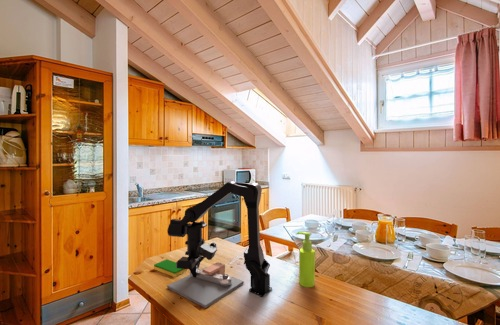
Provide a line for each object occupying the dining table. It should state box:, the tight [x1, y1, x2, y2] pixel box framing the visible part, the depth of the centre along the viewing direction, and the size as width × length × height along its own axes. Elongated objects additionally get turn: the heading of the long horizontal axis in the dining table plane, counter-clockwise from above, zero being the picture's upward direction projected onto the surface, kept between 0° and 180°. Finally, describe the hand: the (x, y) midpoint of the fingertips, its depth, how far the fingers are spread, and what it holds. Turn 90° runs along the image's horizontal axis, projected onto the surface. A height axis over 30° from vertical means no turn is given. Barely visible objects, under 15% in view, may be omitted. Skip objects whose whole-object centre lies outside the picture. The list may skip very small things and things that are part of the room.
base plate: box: [166, 266, 244, 309], centre depth 100 cm, size 21×20×1 cm
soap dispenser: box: [296, 230, 316, 288], centre depth 101 cm, size 6×7×20 cm
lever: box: [189, 268, 233, 287], centre depth 102 cm, size 18×5×3 cm, turn 63°
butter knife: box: [228, 253, 244, 265], centre depth 118 cm, size 1×27×3 cm
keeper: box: [202, 261, 226, 275], centre depth 104 cm, size 4×8×4 cm, turn 143°
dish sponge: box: [153, 258, 188, 278], centre depth 113 cm, size 7×14×2 cm, turn 57°
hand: (194, 277), depth 102 cm, fingers closed
